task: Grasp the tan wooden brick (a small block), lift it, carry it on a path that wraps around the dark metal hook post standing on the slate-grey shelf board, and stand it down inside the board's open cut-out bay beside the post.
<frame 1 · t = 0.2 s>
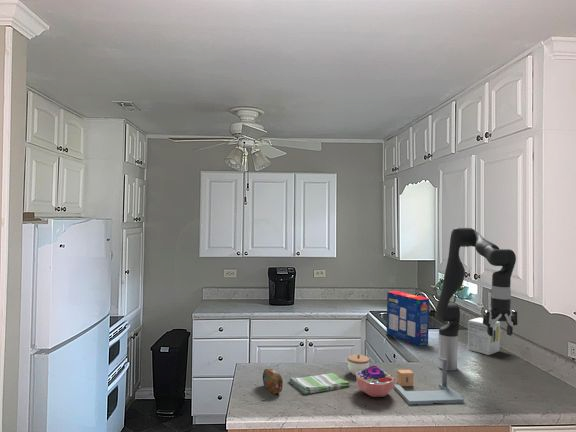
hand: (499, 335, 190), 29 cm above the counter, fingers open, 8 cm apart
supplement box: (483, 350, 266), on the counter
dish towel: (319, 385, 209), on the counter
cell model: (374, 394, 199), on the counter
lidded jar: (358, 374, 223), on the counter
shelf board: (427, 395, 199), on the counter
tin: (272, 390, 201), on the counter
pasta box: (406, 339, 286), on the counter
tan wooden brick: (405, 384, 211), on the counter
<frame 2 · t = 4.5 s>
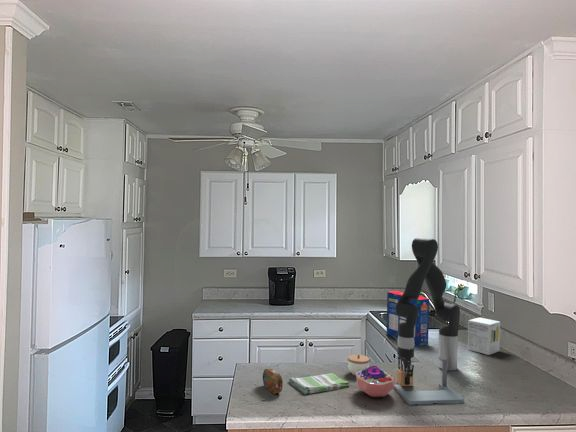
hand: (405, 382, 211), 1 cm above the counter, fingers closed on tan wooden brick, 4 cm apart
tan wooden brick: (404, 384, 211), on the counter, touching gripper
everything else where it was.
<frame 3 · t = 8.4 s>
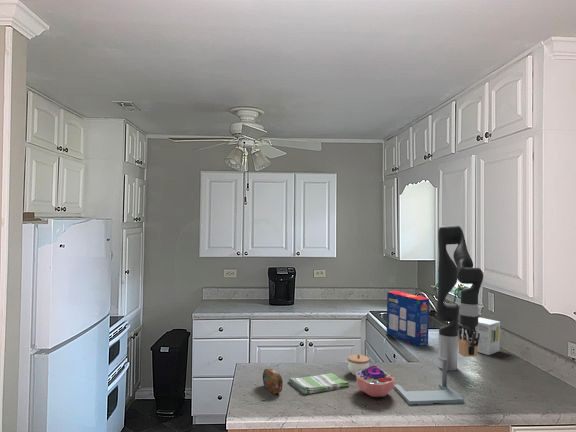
hand: (468, 352, 196), 20 cm above the counter, fingers closed on tan wooden brick, 4 cm apart
tan wooden brick: (467, 354, 197), point 19 cm above the counter, touching gripper
everything else where it was.
when the fingers open (2 cm above the counter, at t = 12.3 s): tan wooden brick drops 1 cm, on the counter.
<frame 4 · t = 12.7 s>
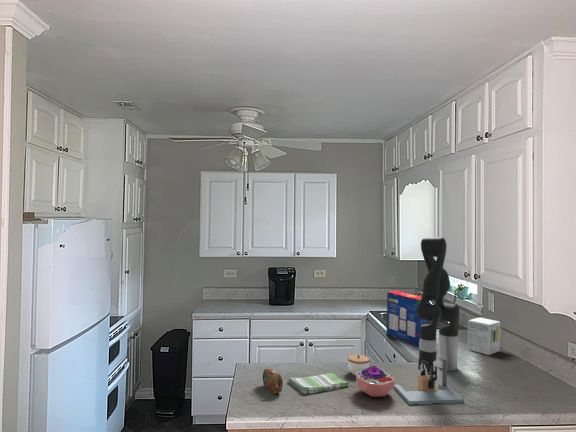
hand: (426, 384, 204), 3 cm above the counter, fingers open, 8 cm apart
tan wooden brick: (426, 390, 204), on the counter
everything else where it was.
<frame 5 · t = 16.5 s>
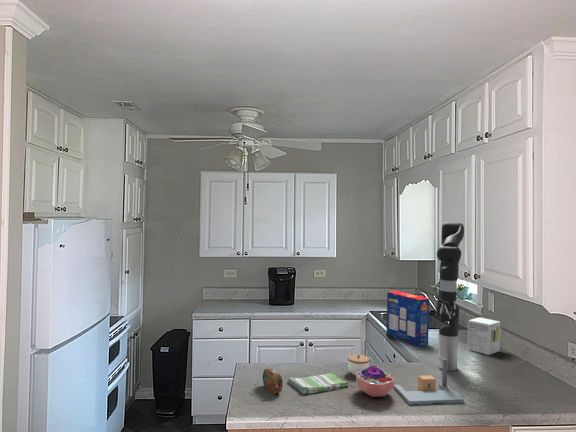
hand: (447, 324, 211), 28 cm above the counter, fingers open, 8 cm apart
nothing on the counter moved.
at the end: tan wooden brick inside the target area (0.0 cm from its centre), on the counter; tan wooden brick tilted 0°; the gripper is holding nothing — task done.
